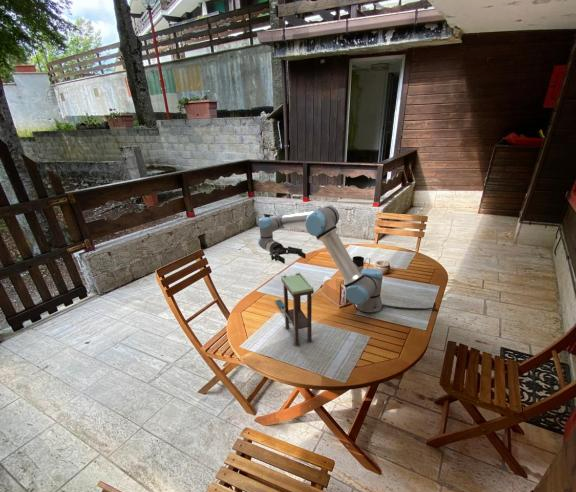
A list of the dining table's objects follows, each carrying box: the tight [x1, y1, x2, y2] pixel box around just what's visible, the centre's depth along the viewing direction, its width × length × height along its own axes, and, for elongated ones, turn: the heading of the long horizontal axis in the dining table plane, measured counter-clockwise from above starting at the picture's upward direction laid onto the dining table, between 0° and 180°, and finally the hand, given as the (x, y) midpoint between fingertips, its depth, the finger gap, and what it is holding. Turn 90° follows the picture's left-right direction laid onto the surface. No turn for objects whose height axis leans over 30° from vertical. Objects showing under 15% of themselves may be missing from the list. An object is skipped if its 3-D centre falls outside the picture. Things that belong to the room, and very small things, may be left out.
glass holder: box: [352, 255, 371, 273], centre depth 214 cm, size 9×14×15 cm, turn 113°
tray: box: [280, 272, 314, 294], centre depth 148 cm, size 18×10×1 cm, turn 18°
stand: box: [280, 278, 315, 346], centre depth 156 cm, size 18×10×30 cm, turn 18°
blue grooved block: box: [275, 299, 291, 323], centre depth 183 cm, size 24×3×1 cm, turn 18°
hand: (294, 258), depth 171 cm, fingers open, 13 cm apart
